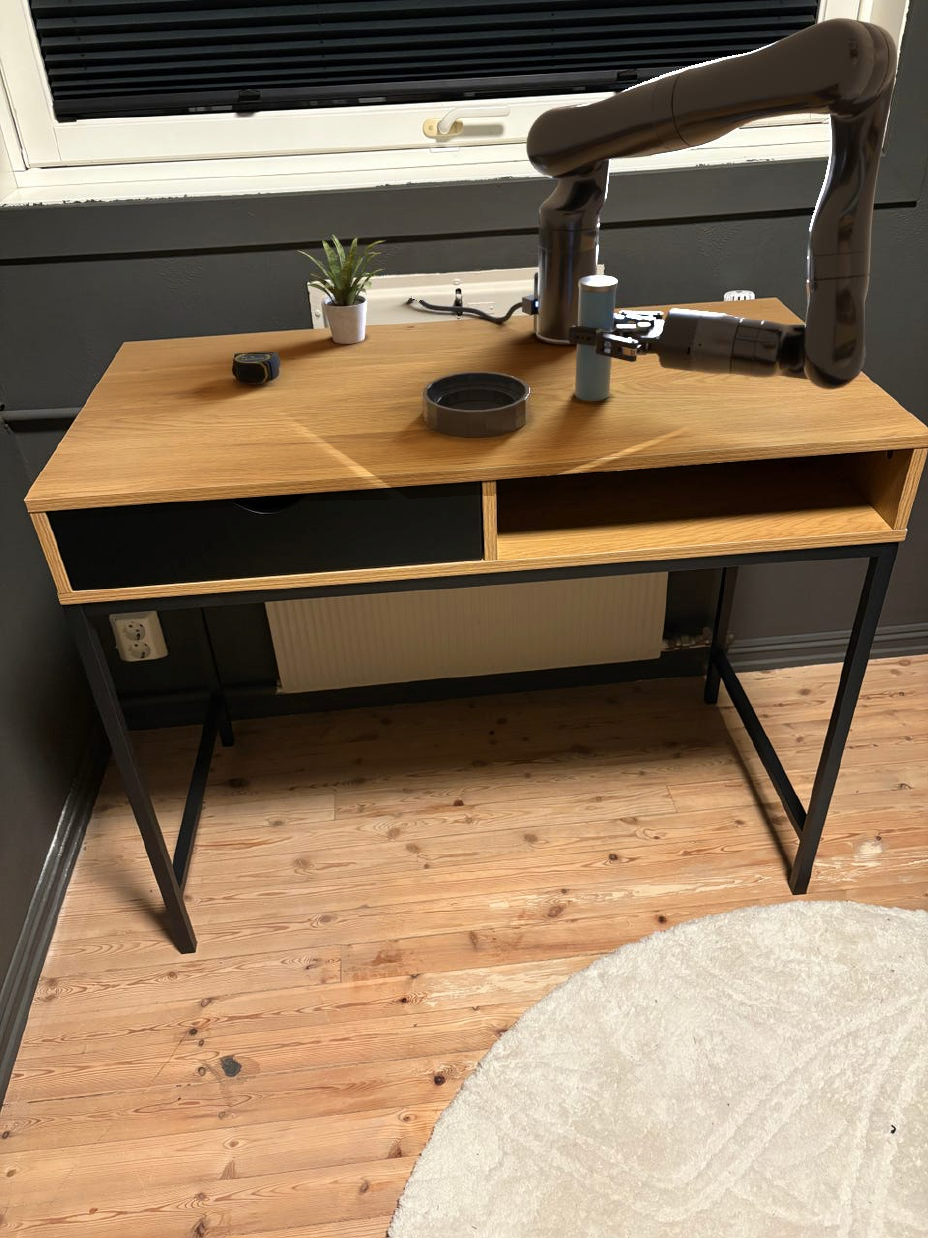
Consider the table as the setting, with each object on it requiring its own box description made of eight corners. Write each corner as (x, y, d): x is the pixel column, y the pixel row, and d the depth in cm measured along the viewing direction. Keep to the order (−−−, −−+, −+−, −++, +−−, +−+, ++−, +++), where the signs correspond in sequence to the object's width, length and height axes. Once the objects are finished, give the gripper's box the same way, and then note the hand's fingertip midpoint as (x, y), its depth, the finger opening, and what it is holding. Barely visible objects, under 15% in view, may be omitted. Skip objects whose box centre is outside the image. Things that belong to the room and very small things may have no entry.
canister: (566, 396, 132) (570, 280, 123) (593, 387, 135) (599, 273, 125) (590, 406, 129) (596, 288, 120) (617, 398, 131) (625, 280, 122)
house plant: (416, 333, 156) (410, 229, 147) (365, 358, 147) (356, 249, 138) (348, 320, 163) (339, 220, 153) (296, 344, 153) (282, 239, 144)
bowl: (404, 415, 128) (402, 387, 126) (487, 390, 135) (487, 363, 132) (464, 450, 119) (463, 421, 116) (551, 422, 125) (551, 393, 123)
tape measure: (282, 371, 144) (279, 346, 141) (278, 387, 138) (275, 362, 136) (237, 373, 143) (233, 349, 141) (231, 390, 138) (227, 365, 135)
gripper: (717, 297, 124) (593, 285, 130) (691, 330, 114) (558, 315, 120) (709, 352, 129) (591, 338, 135) (685, 389, 118) (557, 372, 124)
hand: (576, 327), depth 127 cm, fingers closed on canister, 4 cm apart
